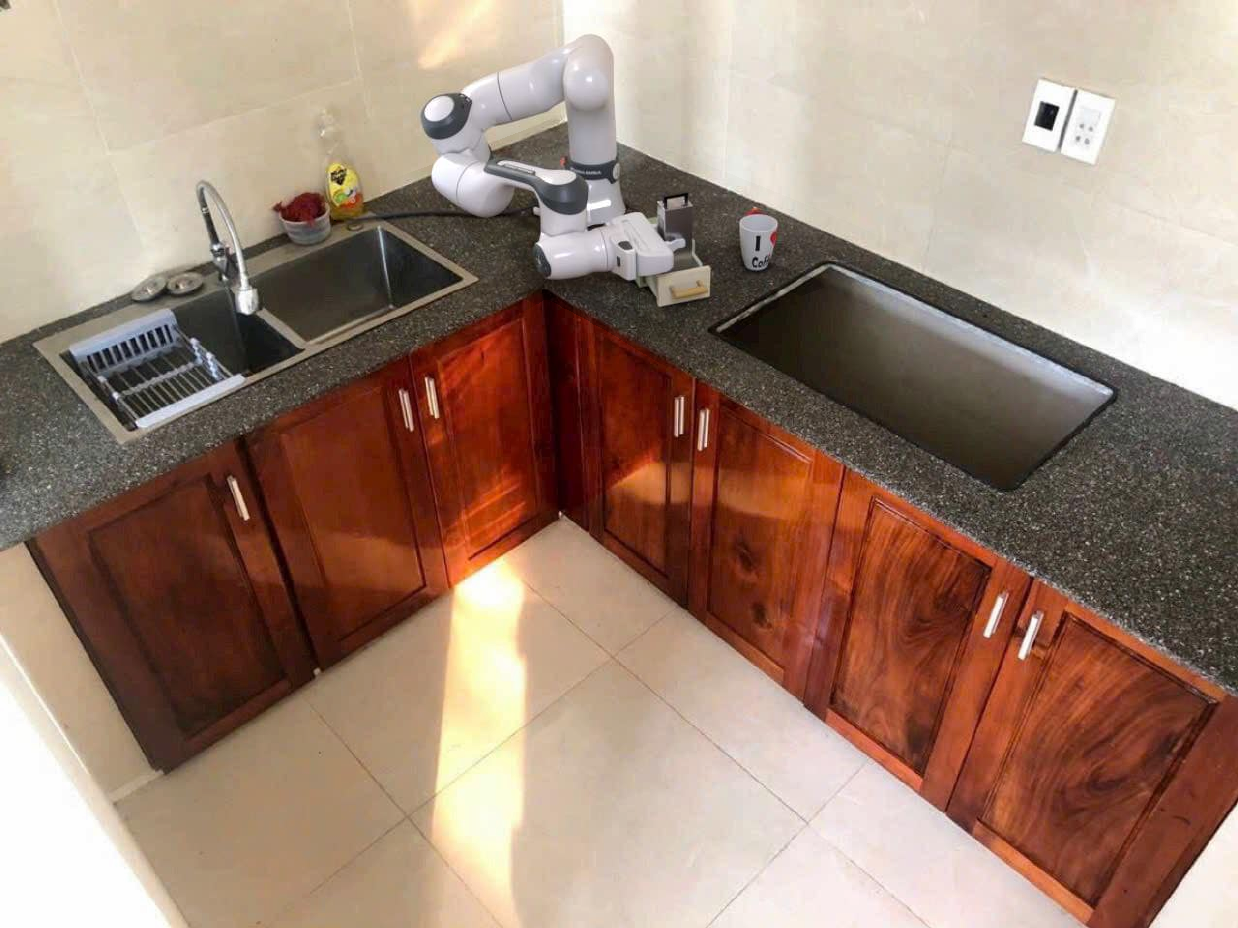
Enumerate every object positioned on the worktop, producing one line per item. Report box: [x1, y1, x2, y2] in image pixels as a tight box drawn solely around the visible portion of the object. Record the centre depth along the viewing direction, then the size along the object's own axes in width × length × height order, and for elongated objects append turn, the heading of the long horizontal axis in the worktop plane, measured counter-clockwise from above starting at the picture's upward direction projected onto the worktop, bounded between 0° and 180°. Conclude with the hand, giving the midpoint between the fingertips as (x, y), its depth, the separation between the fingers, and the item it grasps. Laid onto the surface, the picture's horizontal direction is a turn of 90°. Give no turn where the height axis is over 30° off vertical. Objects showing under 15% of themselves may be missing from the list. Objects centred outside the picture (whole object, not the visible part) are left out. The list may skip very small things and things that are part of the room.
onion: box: [744, 205, 766, 217], centre depth 227 cm, size 6×6×8 cm
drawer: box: [643, 251, 711, 308], centre depth 208 cm, size 17×11×7 cm
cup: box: [739, 214, 778, 271], centre depth 217 cm, size 8×8×10 cm
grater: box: [656, 189, 694, 275], centre depth 204 cm, size 5×6×20 cm
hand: (679, 235), depth 204 cm, fingers closed on grater, 4 cm apart
